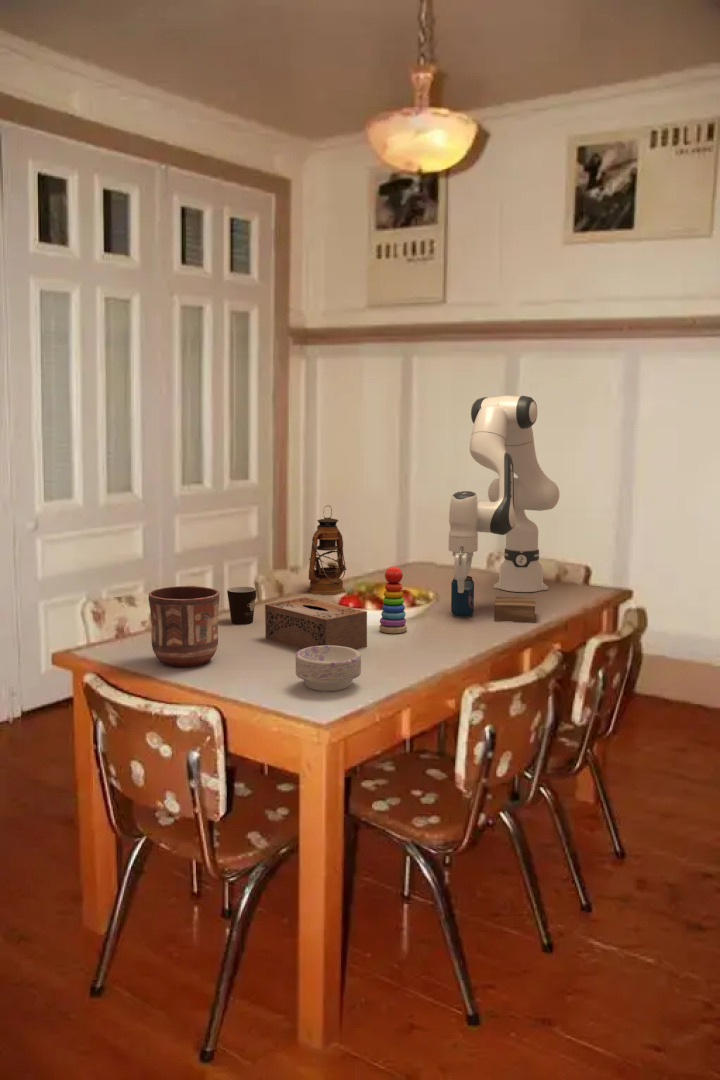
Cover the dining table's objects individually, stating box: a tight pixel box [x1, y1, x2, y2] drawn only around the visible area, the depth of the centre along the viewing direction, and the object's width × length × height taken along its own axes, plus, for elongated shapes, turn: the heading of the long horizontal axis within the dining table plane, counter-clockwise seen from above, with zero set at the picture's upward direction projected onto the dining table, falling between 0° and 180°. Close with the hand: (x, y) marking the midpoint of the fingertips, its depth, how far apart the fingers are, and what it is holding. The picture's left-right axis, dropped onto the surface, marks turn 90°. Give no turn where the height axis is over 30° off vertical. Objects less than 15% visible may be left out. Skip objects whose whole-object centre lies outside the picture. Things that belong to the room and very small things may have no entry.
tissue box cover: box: [264, 597, 368, 650], centre depth 267 cm, size 26×14×10 cm, turn 43°
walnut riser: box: [493, 596, 536, 624], centre depth 298 cm, size 12×12×5 cm
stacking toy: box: [378, 566, 408, 635], centre depth 279 cm, size 8×8×19 cm
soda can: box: [450, 575, 475, 618], centre depth 300 cm, size 7×7×12 cm
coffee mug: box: [226, 586, 257, 626], centre depth 292 cm, size 12×9×10 cm
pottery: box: [148, 585, 220, 669], centre depth 247 cm, size 18×18×18 cm
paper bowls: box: [294, 645, 362, 692], centre depth 227 cm, size 15×15×8 cm
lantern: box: [307, 505, 347, 596], centre depth 336 cm, size 17×13×30 cm
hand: (462, 589), depth 299 cm, fingers open, 8 cm apart
